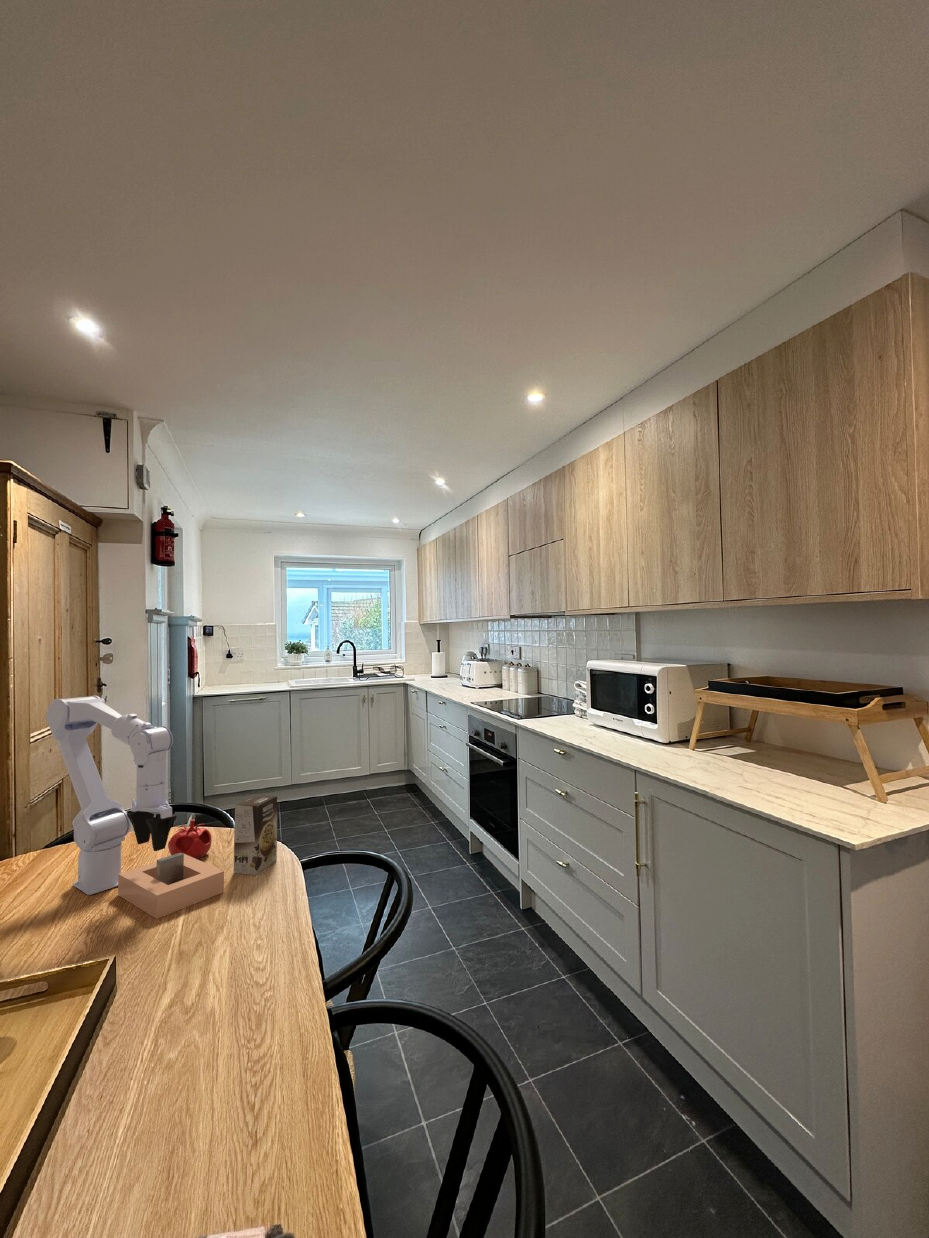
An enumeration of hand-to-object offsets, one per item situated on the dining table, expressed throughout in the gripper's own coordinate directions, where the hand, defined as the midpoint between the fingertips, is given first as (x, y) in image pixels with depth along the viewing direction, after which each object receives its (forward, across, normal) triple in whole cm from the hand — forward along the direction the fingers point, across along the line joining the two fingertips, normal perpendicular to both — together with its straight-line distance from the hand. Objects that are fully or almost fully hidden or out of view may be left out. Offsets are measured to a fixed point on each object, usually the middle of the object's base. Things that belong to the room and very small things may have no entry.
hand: (151, 846), depth 117 cm
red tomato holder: (+10, -14, +16) cm, 24 cm away
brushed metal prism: (+10, +3, +3) cm, 11 cm away
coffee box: (+11, +6, +22) cm, 25 cm away
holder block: (+10, +3, +3) cm, 11 cm away
